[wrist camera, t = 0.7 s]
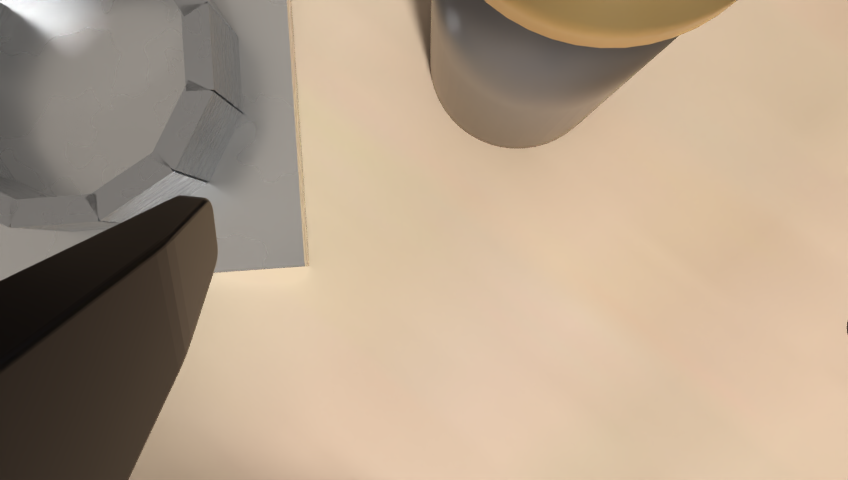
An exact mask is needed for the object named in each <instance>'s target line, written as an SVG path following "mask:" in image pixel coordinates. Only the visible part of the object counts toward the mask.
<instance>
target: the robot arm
mask: <svg viewBox="0 0 848 480" xmlns="http://www.w3.org/2000/svg"><path fill="white" fill-rule="evenodd" d="M217 257H218V245H217V237H216V229H215V221H214V213H213V207H212V204H211V202H210V201H209V200H208V199H207V198H204V197H195V196H185V195H178V196H176V197H174V198H171V199H169V200H167V201H165V202H163V203H161V204H159V205H157V206H155V207H153V208H151V209H149V210H146V211H144V212H142V213H140V214H138V215H136V216H134V217H132V218H130V219H128V220H126V221H124V222H122V223H119V224H117V225H115V226H113V227H111V228H109V229H107V230H105V231H103V232H101V233H99V234H97V235H94V236H92V237H90V238H88V239H86V240H84V241H82V242H80V243H78V244H76V245H74V246H72V247H69V248H67V249H65V250H63V251H61V252H59V253H57V254H55V255H53V256H51V257H49V258H47V259H44V260H42V261H40V262H38V263H36V264H34V265H32V266H30V267H28V268H26V269H24V270H22V271H19V272H17V273H15V274H13V275H11V276H9V277H7V278H5V279H3V280H1V281H0V480H128V479H129V477H130V475H131V473H132V471H133V469H134V467H135V464H136V462H137V460H138V458H139V456H140V454H141V452H142V450H143V447H144V445H145V443H146V441H147V439H148V437H149V435H150V433H151V430H152V428H153V426H154V424H155V422H156V420H157V418H158V415H159V413H160V411H161V409H162V407H163V405H164V403H165V401H166V398H167V396H168V394H169V392H170V390H171V388H172V386H173V384H174V381H175V379H176V377H177V375H178V373H179V371H180V368H181V366H182V364H183V362H184V359H185V357H186V354H187V352H188V349H189V346H190V343H191V340H192V337H193V334H194V331H195V328H196V325H197V322H198V319H199V316H200V313H201V309H202V306H203V303H204V300H205V297H206V294H207V291H208V288H209V285H210V282H211V279H212V276H213V273H214V270H215V266H216V263H217ZM847 333H848V322H847Z"/></svg>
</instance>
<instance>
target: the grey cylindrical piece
mask: <svg viewBox="0 0 848 480" xmlns="http://www.w3.org/2000/svg"><path fill="white" fill-rule="evenodd" d="M736 1H737V0H431V48H430V69H431V76H432V81H433V85H434V88H435V91H436V94H437V96H438V99H439V101H440V103H441V104H442V106H443V108H444V109H445V111H446V112H447V113H448V115H449V116H450V117H451V119H452V120H453V121H454V122H455V123H456V124H457V125H458V126H459V127H460V128H462V129H463V130H464V131H466V132H467V133H468V134H470V135H472V136H473V137H475V138H477V139H479V140H481V141H483V142H486V143H488V144H491V145H495V146H499V147H505V148H529V147H536V146H539V145H543V144H546V143H549V142H551V141H554V140H556V139H558V138H559V137H561V136H563V135H565V134H566V133H568V132H569V131H570V130H571V129H573V128H574V127H575V126H576V125H578V124H579V123H580V122H581V121H582V120H583V119H584V118H586V117H587V116H588V115H589V114H590V113H591V112H592V111H594V110H595V109H596V108H597V107H598V106H599V105H600V104H602V103H603V102H604V101H605V100H606V99H607V98H608V97H609V96H611V95H612V94H613V93H614V92H615V91H616V90H617V89H619V88H620V87H621V86H622V85H623V84H624V83H625V82H627V81H628V80H629V79H630V78H631V77H632V76H633V75H635V74H636V73H637V72H638V71H639V70H640V69H641V68H643V67H644V66H645V65H646V64H647V63H648V62H649V61H651V60H652V59H653V58H654V57H655V56H656V55H657V54H659V53H660V52H661V51H662V50H663V49H664V48H665V47H667V46H668V45H669V44H670V43H671V42H672V41H673V40H674V39H676V38H677V37H678V36H679V35H681V34H684V33H686V32H688V31H691V30H693V29H695V28H697V27H699V26H701V25H702V24H704V23H706V22H708V21H709V20H711V19H713V18H714V17H716V16H718V15H719V14H720V13H722V12H723V11H724V10H725V9H727V8H728V7H729V6H731V5H732V4H733V3H734V2H736Z"/></svg>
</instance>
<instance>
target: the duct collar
mask: <svg viewBox="0 0 848 480" xmlns="http://www.w3.org/2000/svg"><path fill="white" fill-rule="evenodd" d="M178 195H185V196H195V197H204V198H207V199H208V200H209V201H210V202H211V204H212V207H213V213H214V221H215V229H216V237H217V245H218V257H217V263H216V266H215V270H214V273H215V272H229V271H243V270H257V269H271V268H285V267H299V266H309V258H308V243H307V228H306V213H305V199H304V184H303V169H302V154H301V139H300V125H299V110H298V95H297V80H296V65H295V51H294V36H293V21H292V6H291V0H0V281H1V280H3V279H5V278H7V277H9V276H11V275H13V274H15V273H17V272H19V271H22V270H24V269H26V268H28V267H30V266H32V265H34V264H36V263H38V262H40V261H42V260H44V259H47V258H49V257H51V256H53V255H55V254H57V253H59V252H61V251H63V250H65V249H67V248H69V247H72V246H74V245H76V244H78V243H80V242H82V241H84V240H86V239H88V238H90V237H92V236H94V235H97V234H99V233H101V232H103V231H105V230H107V229H109V228H111V227H113V226H115V225H117V224H119V223H122V222H124V221H126V220H128V219H130V218H132V217H134V216H136V215H138V214H140V213H142V212H144V211H146V210H149V209H151V208H153V207H155V206H157V205H159V204H161V203H163V202H165V201H167V200H169V199H171V198H174V197H176V196H178Z"/></svg>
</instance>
